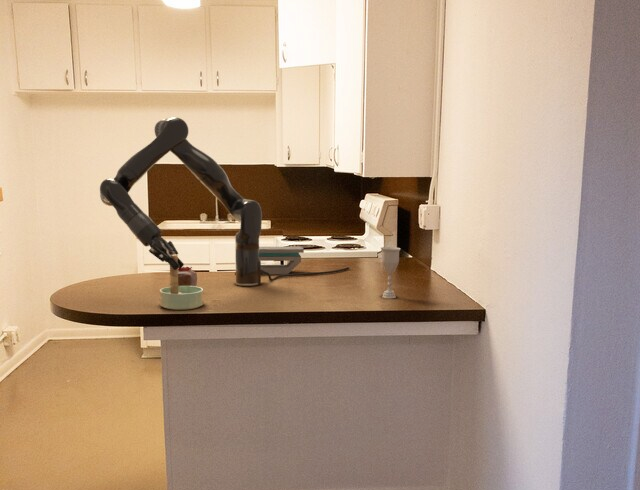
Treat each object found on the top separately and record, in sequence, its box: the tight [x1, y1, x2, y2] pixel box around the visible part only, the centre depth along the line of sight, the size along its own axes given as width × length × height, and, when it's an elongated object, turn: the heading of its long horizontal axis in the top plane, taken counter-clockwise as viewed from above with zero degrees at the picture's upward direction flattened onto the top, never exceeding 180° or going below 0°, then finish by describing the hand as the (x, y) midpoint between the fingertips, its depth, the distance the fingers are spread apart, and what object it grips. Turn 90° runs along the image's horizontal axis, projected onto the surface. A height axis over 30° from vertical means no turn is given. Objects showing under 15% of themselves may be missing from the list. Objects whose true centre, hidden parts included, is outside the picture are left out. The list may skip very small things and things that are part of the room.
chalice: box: [380, 246, 401, 299], centre depth 241 cm, size 7×7×18 cm
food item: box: [178, 266, 198, 287], centre depth 242 cm, size 14×8×10 cm, turn 7°
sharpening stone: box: [259, 246, 305, 275], centre depth 287 cm, size 25×8×11 cm, turn 98°
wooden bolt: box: [169, 254, 182, 294], centre depth 220 cm, size 5×5×15 cm
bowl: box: [159, 285, 205, 311], centre depth 222 cm, size 14×14×6 cm
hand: (179, 267), depth 219 cm, fingers closed on wooden bolt, 2 cm apart
